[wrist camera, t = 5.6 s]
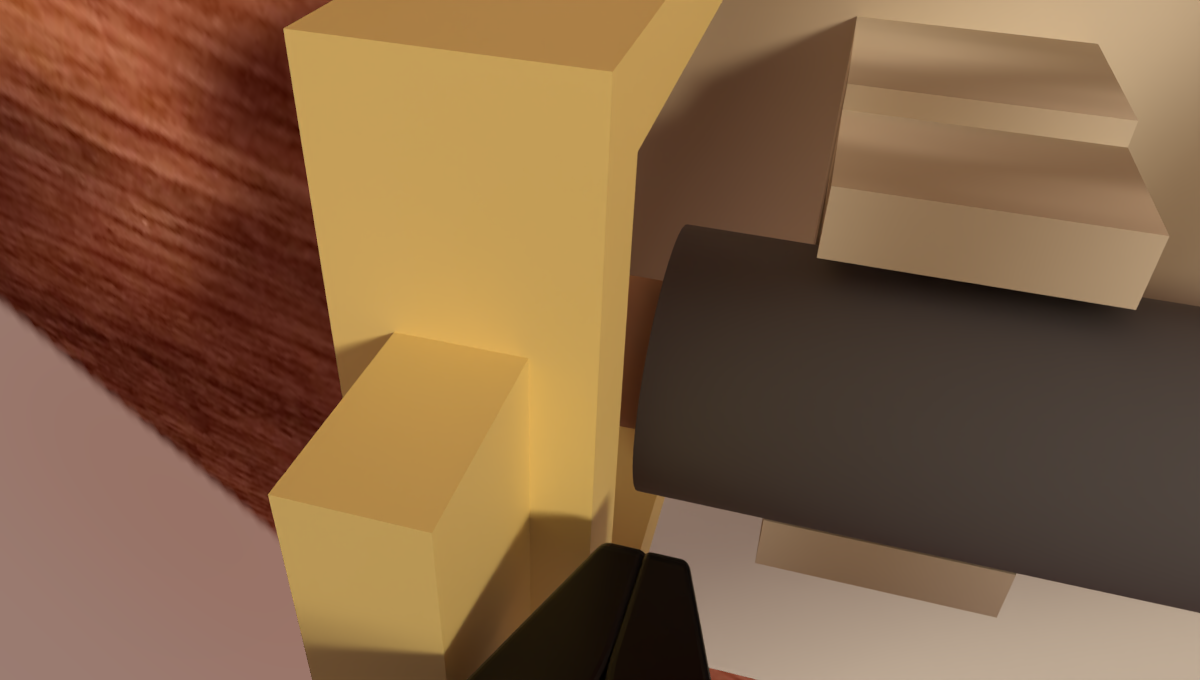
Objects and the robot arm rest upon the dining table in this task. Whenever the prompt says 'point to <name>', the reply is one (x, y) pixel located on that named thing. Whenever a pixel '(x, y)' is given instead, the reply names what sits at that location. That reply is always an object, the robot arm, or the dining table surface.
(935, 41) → the holder
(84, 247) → the dining table surface
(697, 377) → the dark grey cylinder rod
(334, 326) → the strap
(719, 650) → the mat
